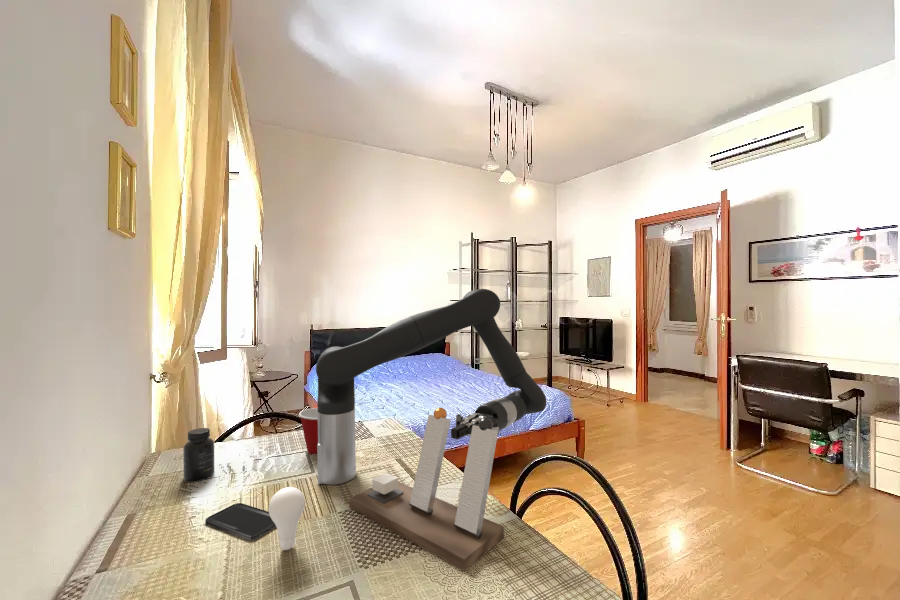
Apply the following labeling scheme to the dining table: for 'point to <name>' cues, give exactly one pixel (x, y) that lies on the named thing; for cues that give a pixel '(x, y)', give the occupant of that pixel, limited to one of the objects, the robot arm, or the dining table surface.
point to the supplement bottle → (198, 455)
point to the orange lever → (430, 462)
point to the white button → (385, 483)
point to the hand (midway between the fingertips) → (453, 434)
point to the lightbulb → (287, 514)
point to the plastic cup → (310, 429)
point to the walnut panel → (427, 525)
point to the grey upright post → (476, 478)
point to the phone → (242, 521)
